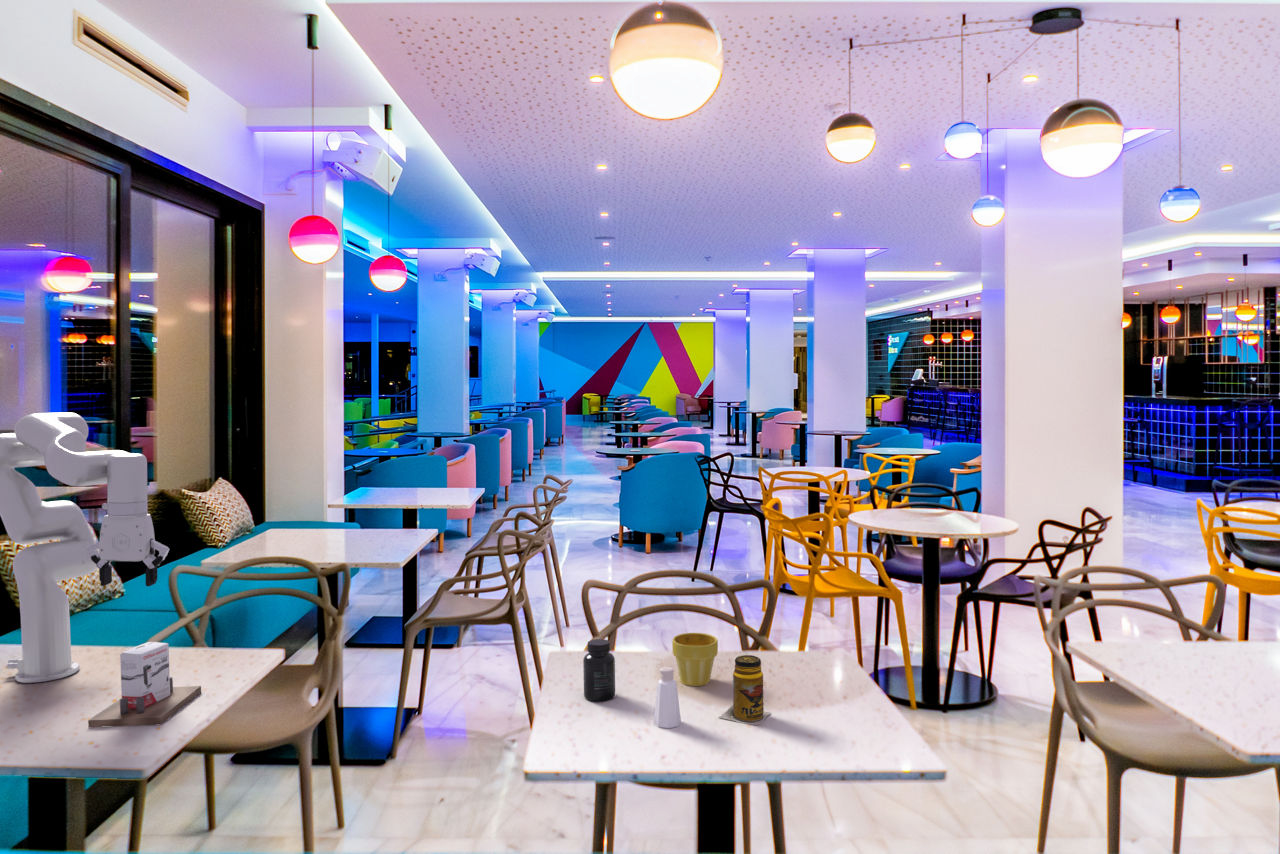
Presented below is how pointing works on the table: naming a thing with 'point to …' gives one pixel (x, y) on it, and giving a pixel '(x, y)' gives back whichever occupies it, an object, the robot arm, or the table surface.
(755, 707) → the condiment
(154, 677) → the ink box
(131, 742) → the table surface
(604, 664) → the supplement bottle
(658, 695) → the salt shaker
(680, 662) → the plant pot
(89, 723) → the pin dock
